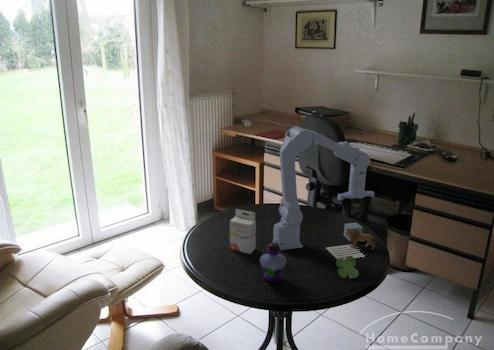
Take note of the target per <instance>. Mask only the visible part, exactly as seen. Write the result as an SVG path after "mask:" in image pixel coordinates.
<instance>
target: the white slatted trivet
mask: <svg viewBox="0 0 494 350" xmlns="http://www.w3.org/2000/svg"><path fill="white" fill-rule="evenodd" d="M351 244H352V243H351ZM351 244H344V245H337V246H336V245H335V246H329V247H325V249H326V250H327V251H328V252H329V253H330V254H331V255H332V256H333V257H334V258H335V259H336V260H337V259H338V258H343V259H345V260H346V257H347V256H351V257H353V258H354V259H359V258H360V257H361V258H366V257H365V255H363V253H361V252H360V251H359V250H360V249H361V248H360V249H356V248H358V247H359V246H358V247H355V248H354V247H353V246H354V245H351Z"/></svg>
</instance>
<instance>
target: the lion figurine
mask: <svg viewBox="0 0 494 350" xmlns="http://www.w3.org/2000/svg"><path fill="white" fill-rule="evenodd" d="M346 236H347V237H348V238H349V239H350V240H352V241H351V242H352V243H351V245H354V246H353V247H354V248H355V247H356V245H357V243H358V242H367V244H365V245H364V246H365V247H368V246H369V245H370V246H371V248H370V249H372V251H374V250H375V248H378V245H376V242H375V237H374V236H373V235H372V234H370V233H362V234H361V233H359V232H358V231H357V230H355V229H353V228H348V229H347V231H346Z"/></svg>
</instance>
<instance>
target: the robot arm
mask: <svg viewBox="0 0 494 350" xmlns="http://www.w3.org/2000/svg"><path fill="white" fill-rule="evenodd" d="M316 145H320V146H322V147H324V148H326V149H328V150H330V151H332V152H333V154H334V156H335V157H337V158H340V159H341V160H343V161H346V162H348V163H349V164H350V169H349V181H348V183H349V184H348V191H346V192H343V193H338V194H337V200H338V201H341V204H342V206H343V210H344V216H345V217H346V218H349V219H350V217H351V209H352V205H353V201H351V200H352V199H358V201H359V203H358V204H359V207H358V208H359V209H358V213H359V214H358V215H360V216H361V217H364V215H365V213H366V210H367V208H368V206H369V205H370V203H371V202H372V198H375V192H374V191H372V190H365V187H366V176H367V170H368V169H367V168H368V166H369V165H370V163H371V162H372V161H371V159H370V156H369V154H368V153H367V152H365V151H362V150H361V149H360V148H359V147H357V146H356V147H354V146H352V145H350V143H349V142H348V141H340V142H336V141H334V140H332V139H330V138H328V137H327V136H324V135H323V134H321V133H318V132H316V131H315V130H310V129H307V128H302V127H301V126H299V125H298V126H297V125H296V126H292V127H291V128H290V129H288V131H286V132H285V136H284V140H283V142H282V144H281V146H280V149H279V163H280V164H279V165H280V166H279V167H280V178H281V179H280V180H281V193H282V194H281V195H282V198H281V199H280V205H279V208H278V212H279V215H280V216H281V218H280V221H279V222H277V223H275V224H274V225H273V231H272V232H273V233H272V234H273V235H272V236H273V239H272V243H278V244H279V247H280V251H283V250H284V251H286V250H292V249H301V248H304V245H303V244H302V243H301V242H300V232H301V223H302V222H303V218H304V217H303V216H304V215H303V212H302V210H301V207H300V202H299V199H298V193H297V189H298V188H297V175H296V161H295V160H296V156H297V155H298V154H299V153H301V152H303V151H304V150H306V149H308V148H310V147H312V146H313V147H314V146H316Z"/></svg>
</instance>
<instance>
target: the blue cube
mask: <svg viewBox="0 0 494 350" xmlns="http://www.w3.org/2000/svg"><path fill="white" fill-rule="evenodd" d="M348 228H353V229H355V230H357V231H358V232H359V233H361V234H363V229H364V228H363V226H361V224H359V223H357V222H349V223H344V229H343V236H344V237H345V238H346V240H348V241H349V242H353V241H352V240H350V239H349V238H348V237H347V236H346V231H347V229H348Z"/></svg>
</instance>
